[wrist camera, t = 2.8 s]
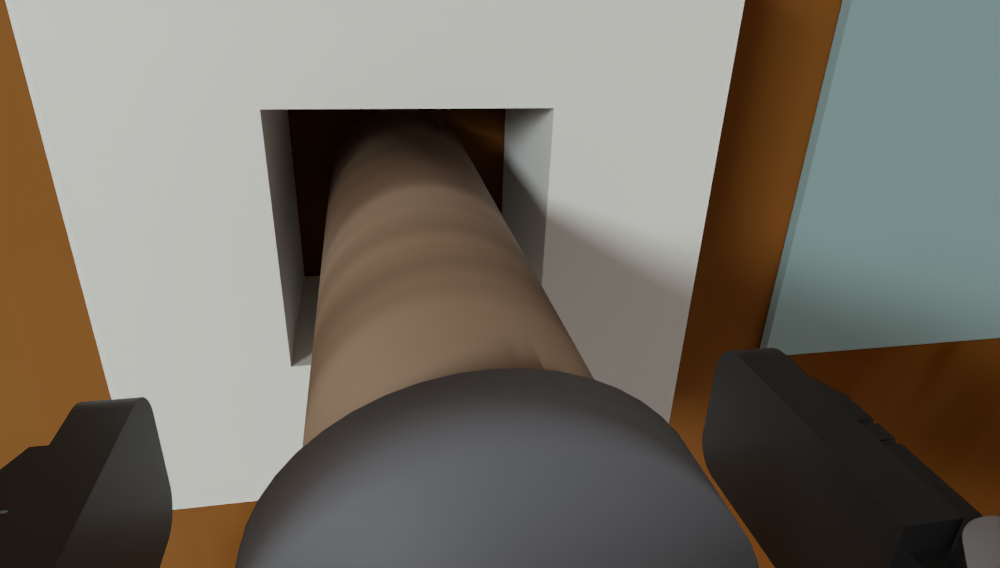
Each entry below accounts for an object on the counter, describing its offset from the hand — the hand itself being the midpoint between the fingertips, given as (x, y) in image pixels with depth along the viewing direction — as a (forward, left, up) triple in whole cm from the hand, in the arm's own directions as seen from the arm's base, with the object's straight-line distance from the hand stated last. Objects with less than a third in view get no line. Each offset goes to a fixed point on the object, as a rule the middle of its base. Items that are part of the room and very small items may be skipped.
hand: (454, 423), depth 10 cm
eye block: (0, 0, -11) cm, 11 cm away
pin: (0, 0, -11) cm, 11 cm away
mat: (0, +20, -11) cm, 23 cm away
